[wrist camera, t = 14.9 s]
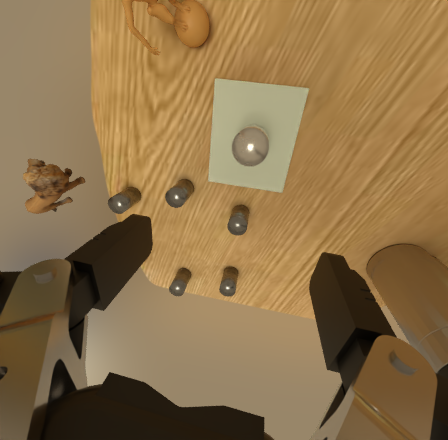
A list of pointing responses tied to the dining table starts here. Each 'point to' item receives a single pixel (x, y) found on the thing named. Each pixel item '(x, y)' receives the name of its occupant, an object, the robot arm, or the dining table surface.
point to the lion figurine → (47, 185)
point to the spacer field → (177, 199)
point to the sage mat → (260, 115)
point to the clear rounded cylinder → (250, 145)
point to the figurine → (174, 21)
